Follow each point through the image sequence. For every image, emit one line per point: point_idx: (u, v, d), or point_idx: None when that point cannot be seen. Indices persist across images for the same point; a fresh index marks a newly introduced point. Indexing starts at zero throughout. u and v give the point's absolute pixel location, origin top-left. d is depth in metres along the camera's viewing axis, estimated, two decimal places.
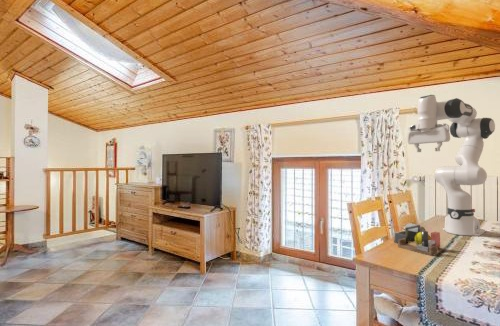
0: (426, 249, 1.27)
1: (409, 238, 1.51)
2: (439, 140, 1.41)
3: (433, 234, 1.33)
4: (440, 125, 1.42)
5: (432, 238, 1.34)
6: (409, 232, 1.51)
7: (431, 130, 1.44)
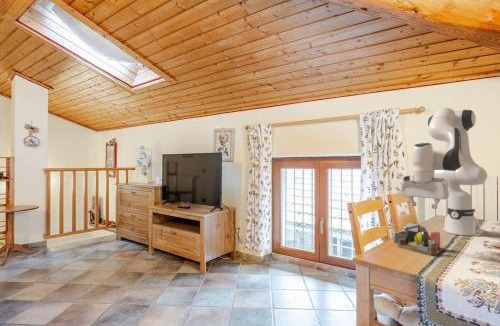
0: (426, 249, 1.27)
1: (409, 238, 1.51)
2: (436, 197, 1.23)
3: (433, 234, 1.33)
4: (437, 179, 1.24)
5: (432, 238, 1.34)
6: (409, 232, 1.51)
7: (427, 184, 1.27)
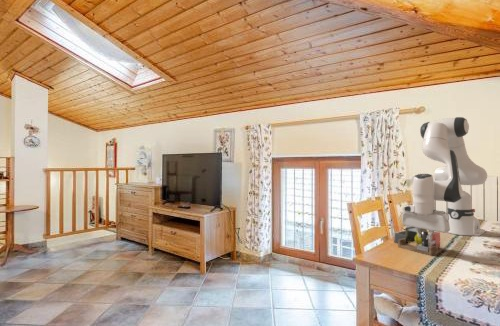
0: (426, 249, 1.27)
1: (409, 238, 1.51)
2: (437, 230, 1.23)
3: (433, 234, 1.33)
4: (438, 212, 1.24)
5: (432, 238, 1.34)
6: (409, 232, 1.51)
7: (428, 216, 1.27)
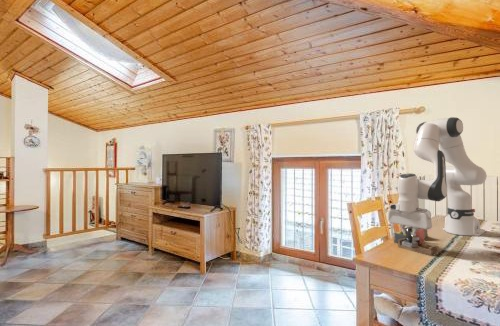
0: (410, 245, 1.34)
1: None
2: (420, 227, 1.30)
3: (417, 231, 1.40)
4: (421, 210, 1.31)
5: (416, 235, 1.40)
6: None
7: (412, 214, 1.33)
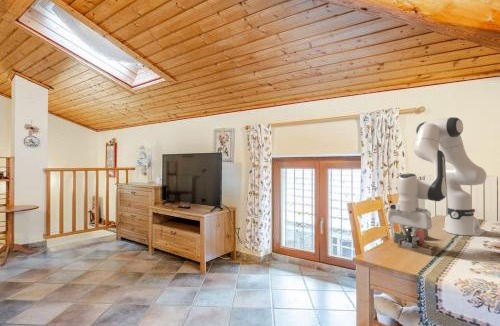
0: (410, 245, 1.34)
1: None
2: (420, 227, 1.30)
3: (417, 231, 1.40)
4: (421, 210, 1.31)
5: (416, 235, 1.40)
6: None
7: (412, 214, 1.33)
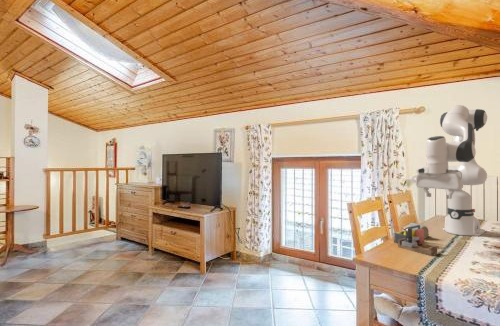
0: (410, 245, 1.34)
1: None
2: (451, 188, 1.29)
3: (417, 231, 1.40)
4: (451, 171, 1.30)
5: (416, 235, 1.40)
6: None
7: (442, 176, 1.33)
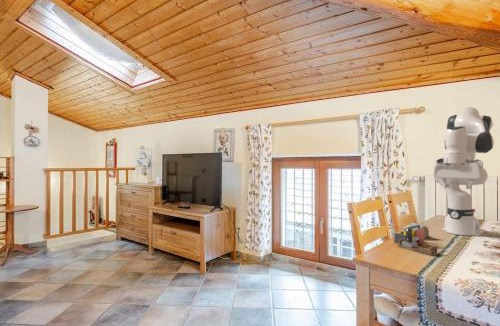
0: (410, 245, 1.34)
1: None
2: (471, 177, 1.28)
3: (417, 231, 1.40)
4: (472, 161, 1.29)
5: (416, 235, 1.40)
6: None
7: (462, 165, 1.32)
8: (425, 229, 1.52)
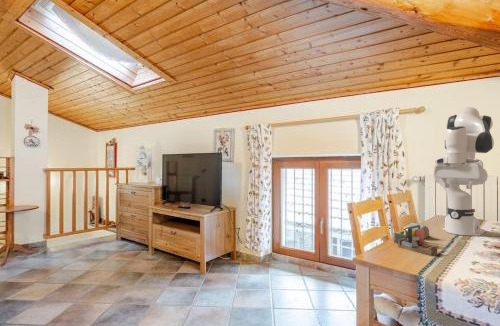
0: (410, 245, 1.34)
1: None
2: (471, 177, 1.28)
3: (417, 231, 1.40)
4: (472, 161, 1.29)
5: (416, 235, 1.40)
6: None
7: (462, 165, 1.32)
8: (425, 229, 1.52)
